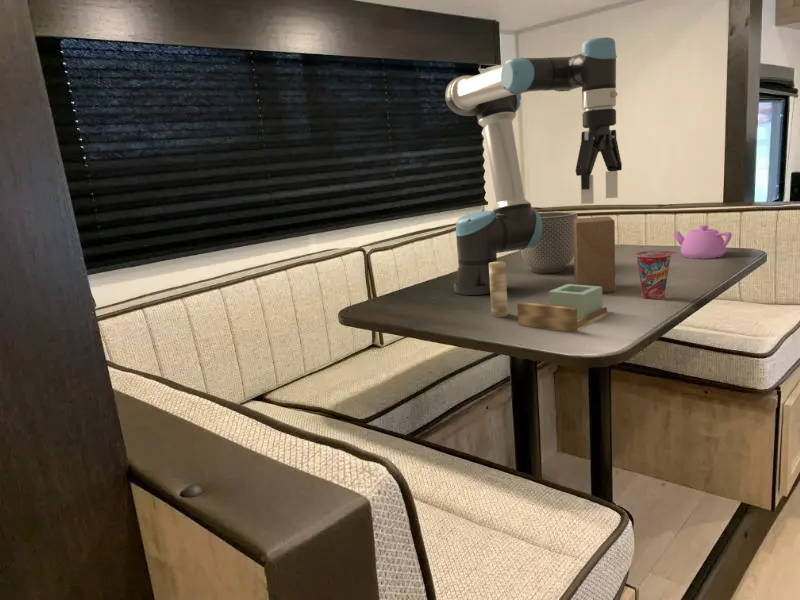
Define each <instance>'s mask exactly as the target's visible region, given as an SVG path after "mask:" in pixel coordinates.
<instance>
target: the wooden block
mask: <svg viewBox="0 0 800 600" xmlns="http://www.w3.org/2000/svg"><path fill="white" fill-rule="evenodd" d="M615 226H616V225H615V220H614V219H613V218H612V217H610V216H596V217H594V216H593V217H582V218H581V217H580V218H578V219H574V220H573V228H574V257H573V260H574V261H573V262H574V263H573V265H574V285H587V286H600V287H602V294H603V293H614V292H615V291H616V264H615V263H616V249H615V248H616V247H615V245H616V239H615V232H616V231H615V230H616V229H615Z"/></svg>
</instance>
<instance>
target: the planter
mask: <svg viewBox="0 0 800 600" xmlns="http://www.w3.org/2000/svg"><path fill="white" fill-rule="evenodd" d="M538 213H539V215H540V216H541V219H542V233H541V237H540V238H539V241H538V242H537V244H536V245H535V246H533V247H531V248H526V249H524V250H520V254H521V257H522V259H523V261H524V263H525V264H526V265H528V267H530V268H531V269H532V271H533V272H534V273H537V274H555V273H561V272H563V271H565V269H566V266H568V265H569V264H570V262H572V260H574V228H573V220H574V219H578V213H577V211H576V212H575V211H568V210H567V211H564V210H563V211H559V210H558V211H544V212H543V211H541V212H538Z"/></svg>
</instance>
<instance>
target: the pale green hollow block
mask: <svg viewBox="0 0 800 600" xmlns="http://www.w3.org/2000/svg"><path fill="white" fill-rule="evenodd" d="M548 305H554V306H563V307H572V308H577V319H579V320H580V319H582V318H584V317H586V316H588V315H590V314H592V313H594V312H596V311H598V310H600V309H602V308H603V293H602V287H600V286H587V285H575V283H573V284H572V283H567V284H564V285H562V286H558V287H556V288H554V289H551V290H549V291H548Z"/></svg>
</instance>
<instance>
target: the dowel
mask: <svg viewBox="0 0 800 600" xmlns="http://www.w3.org/2000/svg"><path fill="white" fill-rule="evenodd" d="M506 267H507V266H506V261H497V262H491V263H489V277H490V309H491V316H492V317H495V318H503V317H506V316H508V315H509V310H508V288H507V286H508V285H507V271H506V269H507V268H506Z"/></svg>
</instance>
